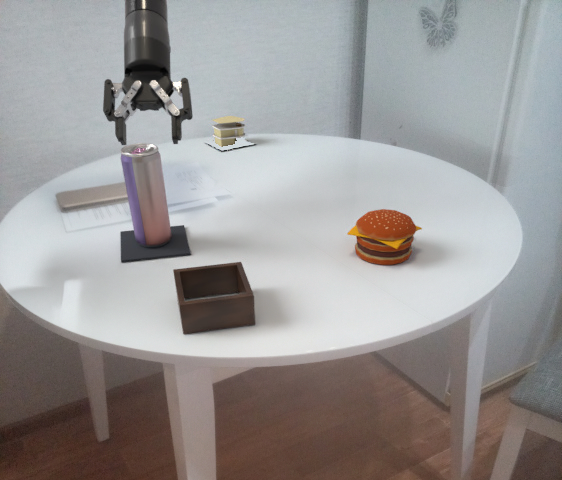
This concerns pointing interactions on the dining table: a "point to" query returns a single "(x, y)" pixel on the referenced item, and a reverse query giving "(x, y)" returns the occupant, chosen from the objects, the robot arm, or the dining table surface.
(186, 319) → the box
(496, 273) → the dining table surface
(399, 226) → the hamburger
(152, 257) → the mat
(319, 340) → the dining table surface
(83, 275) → the dining table surface
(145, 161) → the beverage can
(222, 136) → the stacked layers on plate
